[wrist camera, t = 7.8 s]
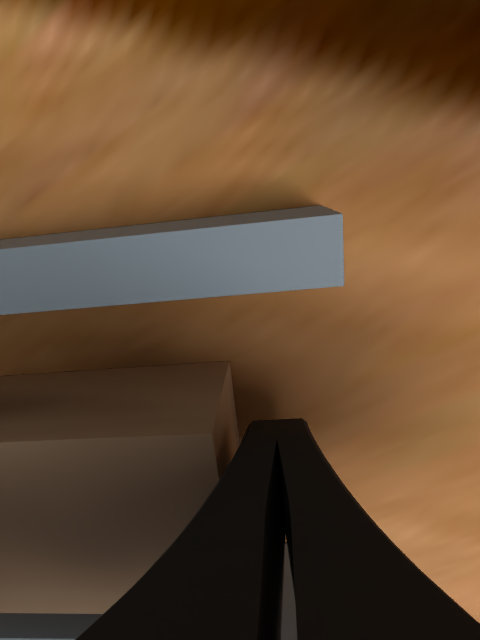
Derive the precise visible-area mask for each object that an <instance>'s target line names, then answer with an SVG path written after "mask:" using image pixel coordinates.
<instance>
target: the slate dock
mask: <svg viewBox="0 0 480 640" xmlns="http://www.w3.org/2000/svg"><path fill="white" fill-rule="evenodd" d="M338 286H344V253H343V214H342V213H339V212H337V211H334V210H332V209H329V208H327V207H324V206H322V205H319V206H310V207H300V208H291V209H281V210H272V211H263V212H253V213H244V214H235V215H225V216H216V217H206V218H197V219H188V220H178V221H169V222H160V223H150V224H141V225H131V226H122V227H113V228H103V229H94V230H85V231H75V232H66V233H56V234H47V235H38V236H28V237H19V238H10V239H0V315H7V314H19V313H30V312H42V311H54V310H66V309H78V308H89V307H101V306H113V305H125V304H137V303H149V302H160V301H172V300H184V299H196V298H208V297H220V296H231V295H243V294H255V293H267V292H279V291H290V290H302V289H314V288H326V287H338ZM102 615H103V614H58V613H0V640H75V639H76V638H78V637H79V636H80V635H81V634H82V633H83V632H84V631H85V630H87V629H88V628H89V627H90V626H91V625H92V624H93V623H94V622H95V621H96V620H97V619H98V618H99V617H101V616H102ZM281 640H297V624H296V604H295V596H294V589H293V582H292V575H291V568H290V561H289V554H288V547H287V543H285V558H284V581H283V603H282V625H281Z"/></svg>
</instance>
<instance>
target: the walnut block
mask: <svg viewBox="0 0 480 640" xmlns="http://www.w3.org/2000/svg"><path fill="white" fill-rule="evenodd" d="M239 445H240V440H239V432H238V424H237V416H236V409H235V401H234V393H233V385H232V377H231V369H230V361H220V362H205V363H189V364H174V365H159V366H144V367H129V368H114V369H99V370H84V371H69V372H53V373H38V374H23V375H8V376H0V613H58V614H104V613H105V612H106V611H107V610H108V609H109V608H110V607H111V606H112V605H113V604H115V603H116V602H117V601H118V600H119V599H120V598H121V597H122V596H123V595H124V594H125V593H126V592H127V591H128V590H129V589H130V588H131V587H132V586H133V585H134V584H135V583H136V582H137V581H138V580H139V579H140V578H141V577H142V576H143V575H144V574H145V573H146V572H147V571H148V570H149V569H150V568H151V566H152V565H153V564H154V563H155V562H156V561H157V560H158V559H159V558H160V557H161V555H162V554H163V553H164V552H165V551H166V550H167V549H168V548H169V547H170V545H171V544H172V543H173V542H174V541H175V540H176V538H177V537H178V536H179V535H180V534H181V532H182V531H183V530H184V529H185V527H186V526H187V525H188V524H189V522H190V521H191V520H192V518H193V517H194V516H195V514H196V513H197V512H198V510H199V509H200V508H201V506H202V505H203V503H204V502H205V501H206V499H207V498H208V496H209V495H210V493H211V492H212V490H213V489H214V487H215V486H216V485H217V483H218V482H219V480H220V478H221V477H222V475H223V473H224V472H225V470H226V468H227V467H228V465H229V463H230V462H231V460H232V458H233V457H234V455H235V453H236V451H237V449H238V447H239Z"/></svg>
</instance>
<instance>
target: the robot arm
mask: <svg viewBox="0 0 480 640" xmlns="http://www.w3.org/2000/svg"><path fill="white" fill-rule="evenodd" d="M285 535H286V539H287V547H288V554H289V561H290V568H291V575H292V582H293V589H294V596H295V604H296V624H297V640H480V623H478V622H477V621H476V620H475V619H474V618H473V617H471V616H470V615H469V614H468V613H467V612H466V611H465V610H464V609H463V608H462V607H460V606H459V605H458V604H457V603H456V602H455V601H454V600H453V599H452V598H450V597H449V596H448V595H447V594H446V593H445V592H444V591H443V590H442V589H441V588H439V587H438V586H437V585H436V584H435V583H434V582H433V581H432V580H431V579H429V578H428V577H427V576H426V575H425V574H424V573H423V572H422V571H421V570H420V569H419V568H418V567H417V566H416V565H415V564H414V563H413V562H412V561H411V560H410V559H409V558H408V557H407V556H406V555H405V554H404V553H403V552H402V551H401V550H400V549H399V548H398V547H397V546H396V545H395V544H394V543H393V542H392V541H391V540H390V539H389V538H388V537H387V535H386V534H385V533H384V532H383V531H382V530H381V529H380V528H379V527H378V526H377V525H376V523H375V522H374V521H373V520H372V519H371V518H370V516H369V515H368V514H367V513H366V512H365V511H364V509H363V508H362V507H361V506H360V504H359V503H358V502H357V501H356V499H355V498H354V497H353V496H352V494H351V493H350V492H349V491H348V489H347V488H346V487H345V485H344V484H343V482H342V481H341V480H340V478H339V477H338V475H337V474H336V473H335V471H334V470H333V468H332V467H331V465H330V464H329V462H328V461H327V459H326V458H325V456H324V455H323V453H322V451H321V450H320V448H319V446H318V445H317V443H316V441H315V439H314V437H313V436H312V434H311V431H310V429H309V427H308V424H307V422H306V421H305V420H303V419H302V418H299V419H279V420H259V421H252V422H251V423H250V424H249V426H248V428H247V431H246V433H245V435H244V437H243V439H242V441H241V443H240V445H239V447H238V449H237V451H236V453H235V455H234V457H233V458H232V460H231V462H230V463H229V465H228V467H227V468H226V470H225V472H224V473H223V475H222V477H221V478H220V480H219V482H218V483H217V485H216V486H215V487H214V489H213V490H212V492H211V493H210V495H209V496H208V498H207V499H206V501H205V502H204V503H203V505H202V506H201V508H200V509H199V510H198V512H197V513H196V514H195V516H194V517H193V518H192V520H191V521H190V522H189V524H188V525H187V526H186V527H185V529H184V530H183V531H182V532H181V534H180V535H179V536H178V537H177V538H176V540H175V541H174V542H173V543H172V544H171V545H170V547H169V548H168V549H167V550H166V551H165V552H164V553H163V554H162V555H161V557H160V558H159V559H158V560H157V561H156V562H155V563H154V564H153V565H152V566H151V568H150V569H149V570H148V571H147V572H146V573H145V574H144V575H143V576H142V577H141V578H140V579H139V580H138V581H137V582H136V583H135V584H134V585H133V586H132V587H131V588H130V589H129V590H128V591H127V592H126V593H125V594H124V595H123V596H122V597H121V598H120V599H119V600H118V601H117V602H116V603H115V604H113V605H112V606H111V607H110V608H109V609H108V610H107V611H106V612H105V613H104V614H103V615H102V616H101V617H99V618H98V619H97V620H96V621H95V622H94V623H93V624H92V625H91V626H90V627H89V628H88V629H87V630H85V631H84V632H83V633H82V634H81V635H80V636H79V637H78V638H76V639H75V640H281V625H282V603H283V581H284V558H285Z"/></svg>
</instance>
